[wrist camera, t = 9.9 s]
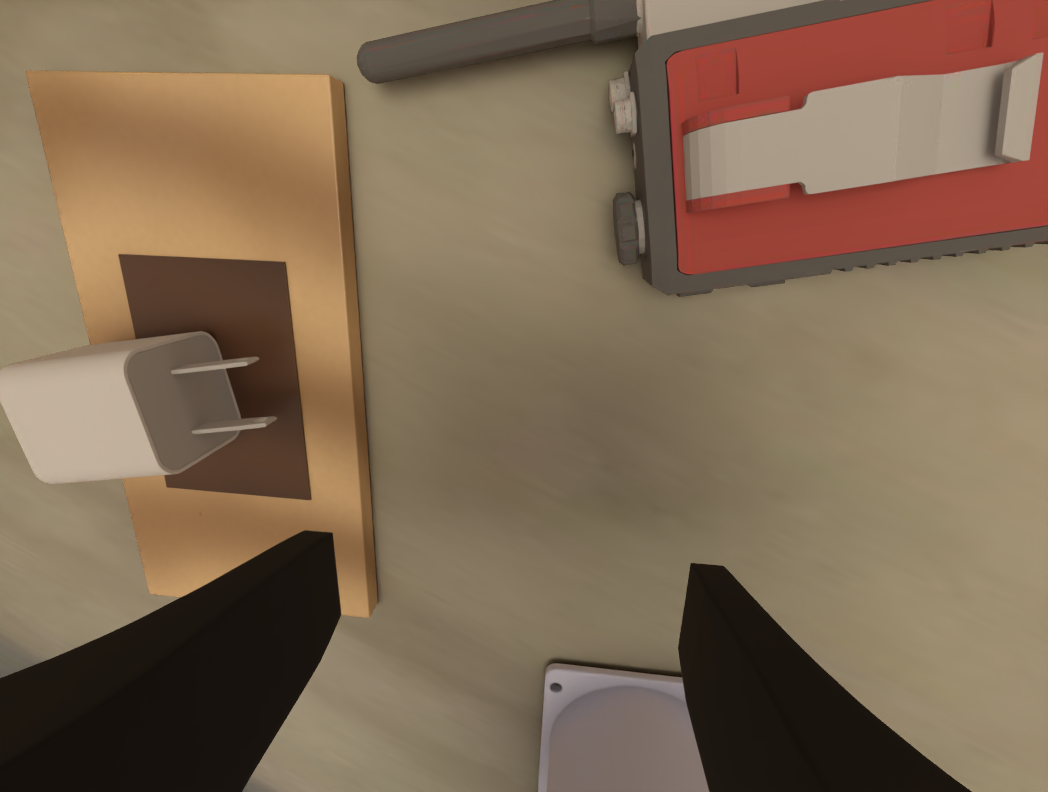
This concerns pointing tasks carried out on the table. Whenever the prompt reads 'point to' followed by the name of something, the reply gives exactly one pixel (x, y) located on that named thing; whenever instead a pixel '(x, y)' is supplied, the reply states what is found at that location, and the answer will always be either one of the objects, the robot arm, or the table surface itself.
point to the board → (226, 297)
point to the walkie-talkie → (797, 127)
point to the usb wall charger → (124, 407)
